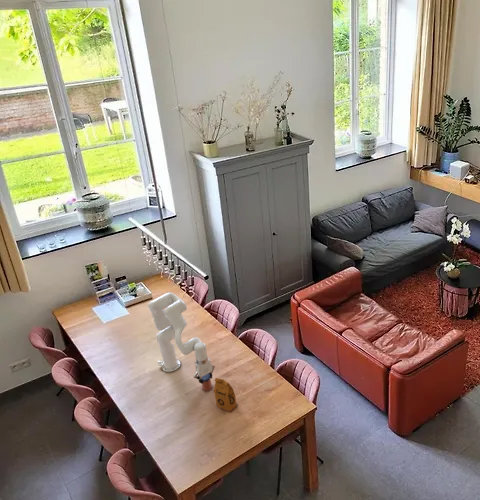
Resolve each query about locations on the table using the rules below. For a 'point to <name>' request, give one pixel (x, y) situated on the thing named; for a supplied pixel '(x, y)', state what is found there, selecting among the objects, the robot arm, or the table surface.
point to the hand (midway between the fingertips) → (205, 380)
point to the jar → (207, 385)
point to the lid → (206, 377)
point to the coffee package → (224, 395)
